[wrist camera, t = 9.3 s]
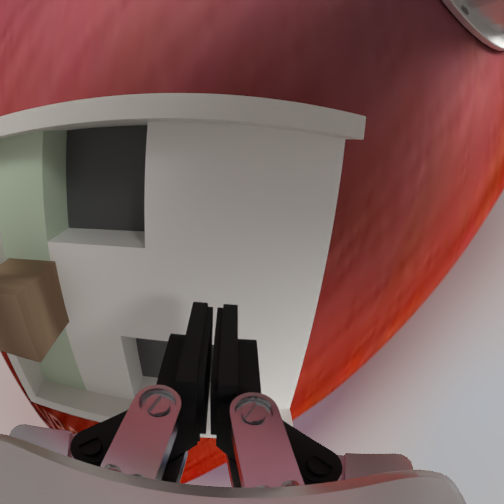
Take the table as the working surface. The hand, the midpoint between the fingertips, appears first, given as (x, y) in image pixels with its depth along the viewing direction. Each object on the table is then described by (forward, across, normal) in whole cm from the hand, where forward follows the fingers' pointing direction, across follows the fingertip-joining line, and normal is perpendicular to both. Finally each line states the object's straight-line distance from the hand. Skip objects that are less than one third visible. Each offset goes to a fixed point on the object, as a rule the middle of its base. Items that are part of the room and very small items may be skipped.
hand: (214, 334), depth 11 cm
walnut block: (+4, +11, +2) cm, 12 cm away
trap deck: (+7, +5, +1) cm, 8 cm away
